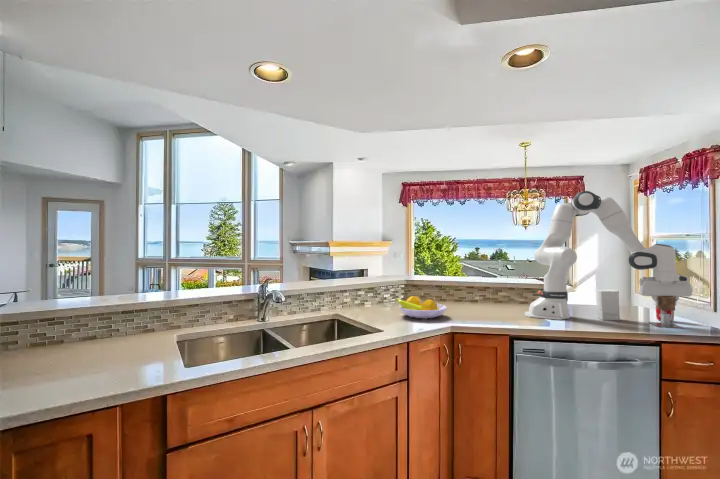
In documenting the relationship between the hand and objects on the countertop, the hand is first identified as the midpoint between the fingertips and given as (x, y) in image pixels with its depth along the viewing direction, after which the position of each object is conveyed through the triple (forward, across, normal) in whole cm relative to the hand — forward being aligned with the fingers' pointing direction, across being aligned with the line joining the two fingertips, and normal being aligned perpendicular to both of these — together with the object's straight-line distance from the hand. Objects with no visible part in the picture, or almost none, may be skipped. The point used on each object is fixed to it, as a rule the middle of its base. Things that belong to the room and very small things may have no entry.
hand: (665, 305), depth 172 cm
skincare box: (+10, -21, +9) cm, 25 cm away
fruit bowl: (+8, -119, -8) cm, 119 cm away
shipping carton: (+2, 0, 0) cm, 2 cm away
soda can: (+10, +5, +11) cm, 16 cm away
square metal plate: (+10, 0, -1) cm, 10 cm away
